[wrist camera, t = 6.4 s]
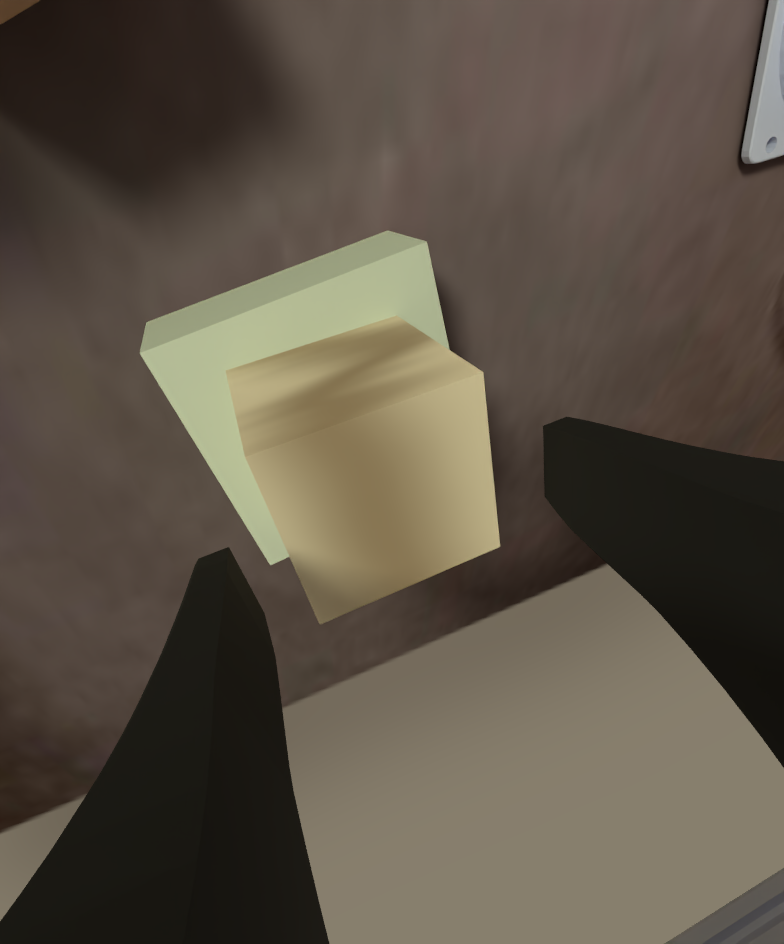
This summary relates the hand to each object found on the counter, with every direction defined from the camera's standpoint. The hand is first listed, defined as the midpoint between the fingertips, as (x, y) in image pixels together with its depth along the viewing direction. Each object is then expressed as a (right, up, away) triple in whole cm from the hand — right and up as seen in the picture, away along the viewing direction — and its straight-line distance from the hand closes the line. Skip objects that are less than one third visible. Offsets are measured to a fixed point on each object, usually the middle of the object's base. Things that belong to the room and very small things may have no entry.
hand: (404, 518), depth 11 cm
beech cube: (-2, +3, +4) cm, 5 cm away
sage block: (-3, +4, +7) cm, 9 cm away
